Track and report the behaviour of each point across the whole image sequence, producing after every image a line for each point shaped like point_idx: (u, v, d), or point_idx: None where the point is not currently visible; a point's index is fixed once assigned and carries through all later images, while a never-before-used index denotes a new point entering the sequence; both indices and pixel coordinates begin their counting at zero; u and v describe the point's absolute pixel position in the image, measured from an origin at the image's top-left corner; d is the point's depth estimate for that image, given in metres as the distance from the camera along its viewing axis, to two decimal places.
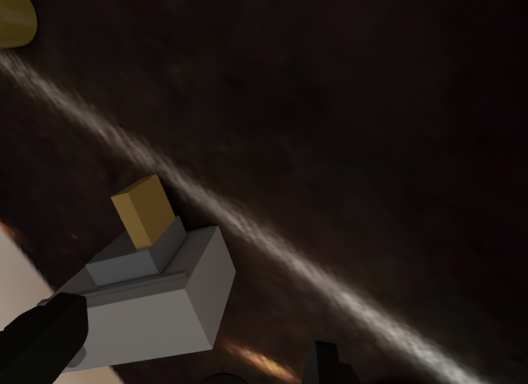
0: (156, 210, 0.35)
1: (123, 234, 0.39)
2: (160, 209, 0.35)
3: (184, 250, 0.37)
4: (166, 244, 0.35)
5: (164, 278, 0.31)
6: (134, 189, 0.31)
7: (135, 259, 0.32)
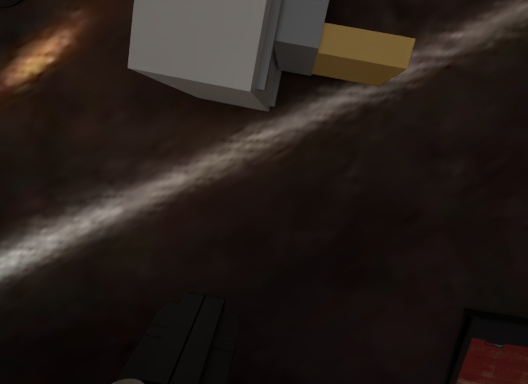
0: (346, 71, 0.24)
1: None
2: (342, 72, 0.25)
3: (271, 69, 0.26)
4: (296, 58, 0.23)
5: (270, 52, 0.19)
6: (398, 72, 0.22)
7: (313, 15, 0.20)
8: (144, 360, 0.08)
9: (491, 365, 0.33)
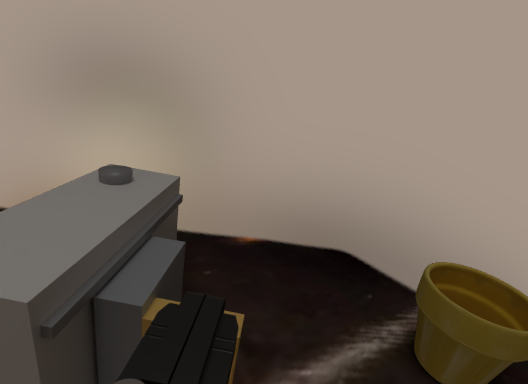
0: None
1: None
2: None
3: (83, 368, 0.20)
4: (120, 344, 0.20)
5: (82, 295, 0.17)
6: (234, 353, 0.19)
7: (144, 284, 0.20)
8: (144, 360, 0.08)
9: None
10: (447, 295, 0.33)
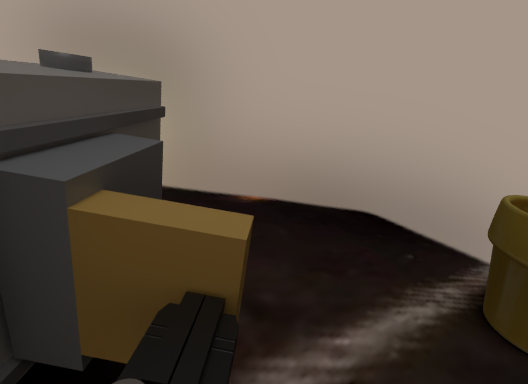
0: (143, 305, 0.11)
1: None
2: (138, 318, 0.12)
3: None
4: (36, 263, 0.11)
5: None
6: (238, 272, 0.10)
7: (80, 163, 0.12)
8: (144, 360, 0.08)
9: None
10: None
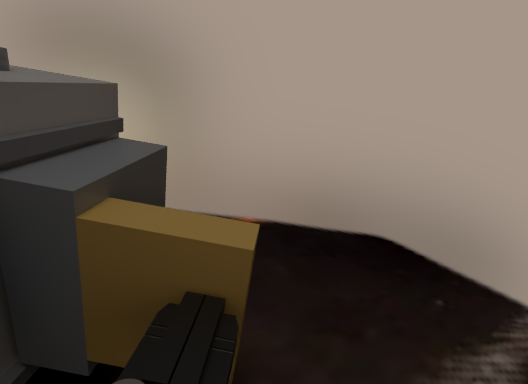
0: (150, 312, 0.11)
1: None
2: (144, 326, 0.12)
3: None
4: (43, 271, 0.11)
5: None
6: (244, 282, 0.11)
7: (87, 171, 0.12)
8: (144, 360, 0.08)
9: None
10: None
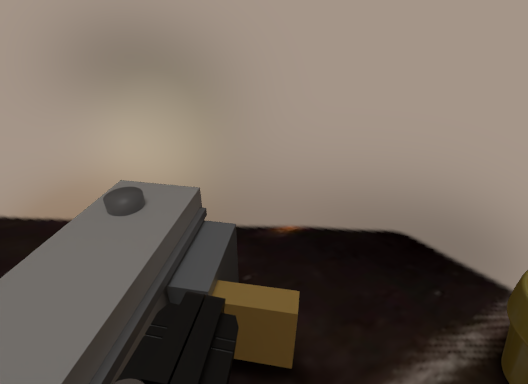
0: (247, 337, 0.23)
1: (236, 280, 0.30)
2: (245, 342, 0.23)
3: None
4: None
5: None
6: (294, 326, 0.21)
7: (206, 270, 0.22)
8: (144, 360, 0.08)
9: None
10: None
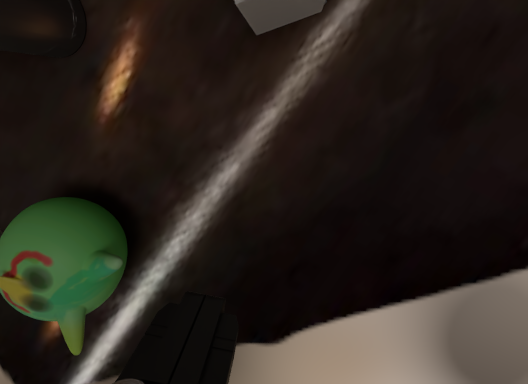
0: None
1: None
2: None
3: None
4: None
5: None
6: None
7: None
8: (144, 360, 0.08)
9: None
10: None
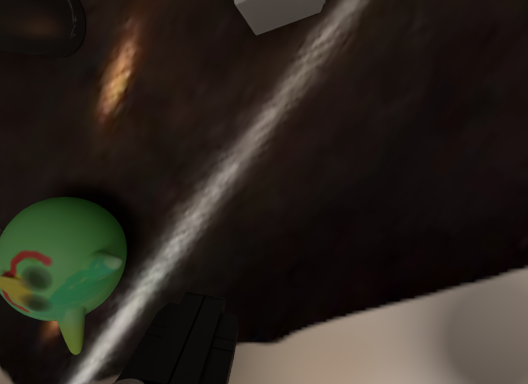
0: None
1: None
2: None
3: None
4: None
5: None
6: None
7: None
8: (144, 360, 0.08)
9: None
10: None
